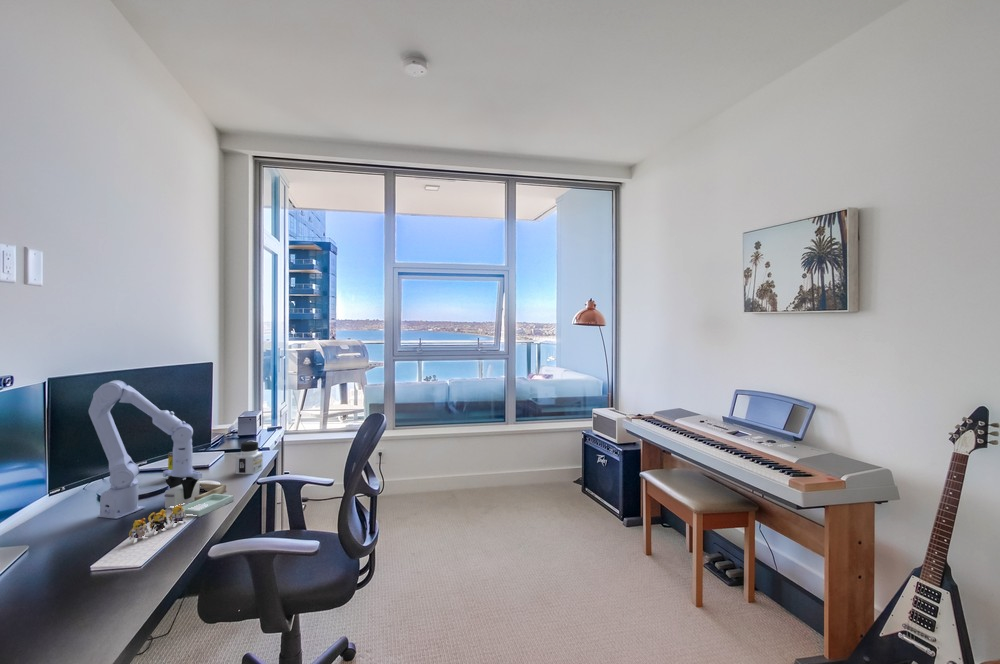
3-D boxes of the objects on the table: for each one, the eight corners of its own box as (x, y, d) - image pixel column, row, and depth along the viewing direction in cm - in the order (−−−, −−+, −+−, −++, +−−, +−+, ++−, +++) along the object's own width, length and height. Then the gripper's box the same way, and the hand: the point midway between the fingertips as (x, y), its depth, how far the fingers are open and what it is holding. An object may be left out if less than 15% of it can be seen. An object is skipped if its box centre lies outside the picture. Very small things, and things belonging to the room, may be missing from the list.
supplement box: (181, 479, 185) (182, 453, 185) (167, 479, 185) (167, 452, 185) (192, 475, 190) (192, 449, 190) (178, 474, 191) (178, 449, 191)
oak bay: (196, 504, 158) (196, 497, 158) (168, 501, 161) (168, 494, 161) (226, 491, 171) (226, 485, 171) (200, 489, 174) (200, 482, 174)
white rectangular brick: (173, 509, 154) (173, 492, 154) (163, 508, 154) (163, 491, 154) (199, 498, 164) (199, 481, 164) (189, 497, 165) (189, 481, 165)
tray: (198, 517, 148) (198, 511, 148) (176, 514, 149) (176, 508, 149) (233, 501, 162) (233, 495, 162) (213, 499, 164) (213, 493, 164)
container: (253, 474, 192) (253, 444, 192) (235, 474, 192) (235, 443, 192) (262, 469, 200) (263, 439, 200) (245, 468, 200) (245, 439, 200)
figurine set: (124, 543, 129) (125, 520, 129) (181, 521, 145) (181, 500, 145) (133, 545, 128) (133, 522, 128) (189, 522, 144) (189, 502, 144)
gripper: (209, 457, 162) (209, 495, 162) (175, 455, 165) (175, 492, 165) (192, 463, 155) (192, 502, 155) (157, 460, 158) (157, 499, 158)
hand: (182, 497), depth 159 cm, fingers closed on white rectangular brick, 4 cm apart
